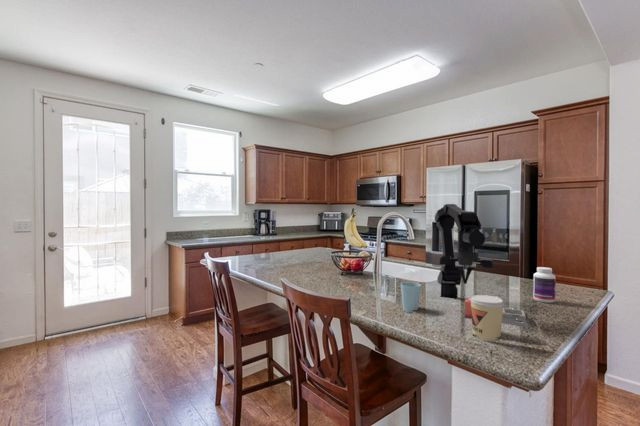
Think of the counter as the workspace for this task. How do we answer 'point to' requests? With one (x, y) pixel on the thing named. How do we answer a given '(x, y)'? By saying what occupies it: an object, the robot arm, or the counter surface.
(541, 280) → the pill bottle
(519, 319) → the panel
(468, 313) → the red block with knob
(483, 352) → the counter surface
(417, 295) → the cup
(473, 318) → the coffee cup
